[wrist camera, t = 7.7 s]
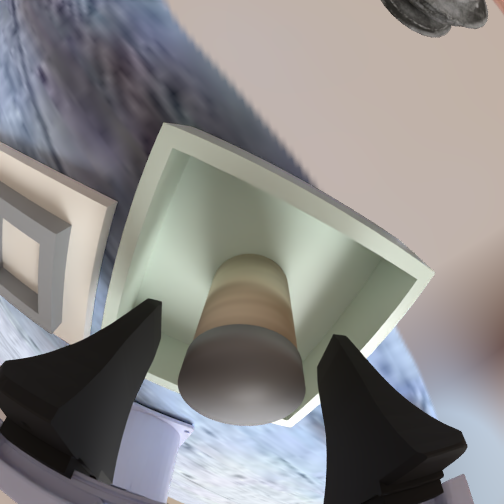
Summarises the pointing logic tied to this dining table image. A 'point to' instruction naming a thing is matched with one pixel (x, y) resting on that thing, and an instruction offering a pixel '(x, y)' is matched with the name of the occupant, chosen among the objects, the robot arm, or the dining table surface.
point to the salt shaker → (438, 14)
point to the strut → (245, 347)
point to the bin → (254, 252)
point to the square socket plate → (50, 244)
